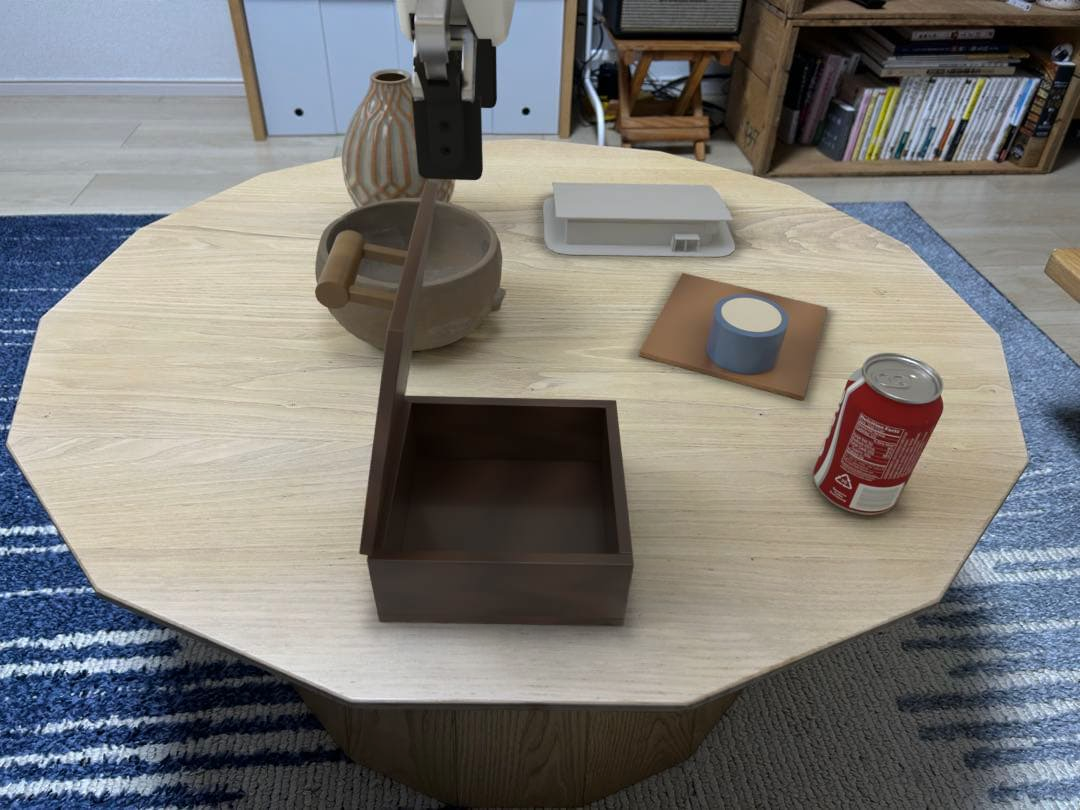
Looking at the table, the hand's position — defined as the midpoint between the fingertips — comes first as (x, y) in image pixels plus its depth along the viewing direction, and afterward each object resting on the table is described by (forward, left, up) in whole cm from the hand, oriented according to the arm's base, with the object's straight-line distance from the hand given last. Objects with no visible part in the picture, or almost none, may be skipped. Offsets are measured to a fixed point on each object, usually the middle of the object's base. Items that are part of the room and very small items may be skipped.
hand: (461, 138), depth 42 cm
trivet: (-14, -31, -29) cm, 45 cm away
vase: (+28, -36, -29) cm, 54 cm away
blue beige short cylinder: (-16, -27, -28) cm, 42 cm away
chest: (-4, +3, -29) cm, 29 cm away
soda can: (-28, -13, -29) cm, 43 cm away
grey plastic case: (+2, -48, -29) cm, 56 cm away
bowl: (+16, -18, -29) cm, 38 cm away
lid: (+2, +5, -13) cm, 14 cm away
